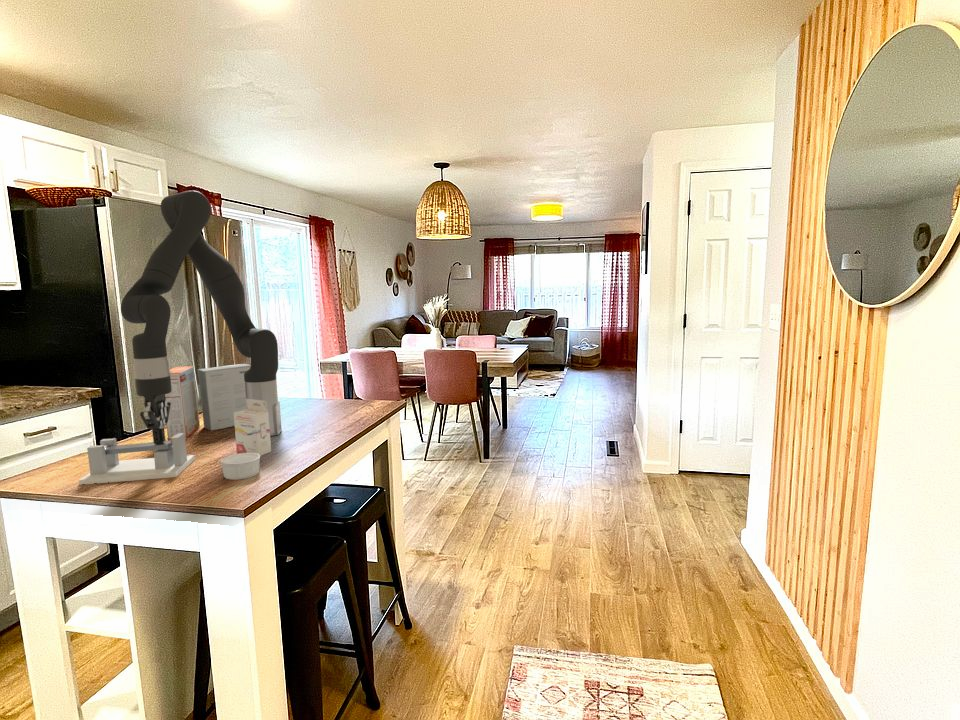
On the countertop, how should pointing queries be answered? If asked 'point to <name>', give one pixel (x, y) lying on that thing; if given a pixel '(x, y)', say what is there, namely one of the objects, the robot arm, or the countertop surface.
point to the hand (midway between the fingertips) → (159, 442)
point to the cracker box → (182, 402)
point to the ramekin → (240, 465)
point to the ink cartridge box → (253, 428)
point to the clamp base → (136, 463)
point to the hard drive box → (222, 394)
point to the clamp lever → (136, 447)
